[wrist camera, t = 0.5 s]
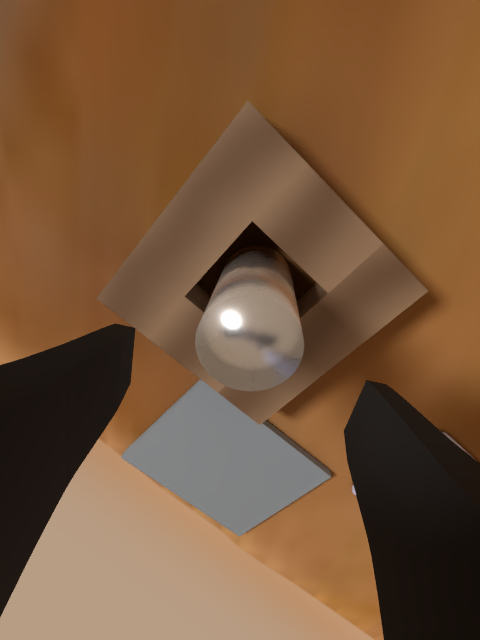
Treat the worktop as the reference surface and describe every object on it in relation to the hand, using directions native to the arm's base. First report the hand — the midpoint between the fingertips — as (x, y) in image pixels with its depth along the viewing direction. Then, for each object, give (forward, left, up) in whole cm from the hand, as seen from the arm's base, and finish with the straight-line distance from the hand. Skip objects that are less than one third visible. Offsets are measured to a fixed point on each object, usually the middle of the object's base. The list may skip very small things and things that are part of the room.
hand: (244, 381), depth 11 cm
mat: (-8, +12, -10) cm, 18 cm away
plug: (0, 0, -10) cm, 10 cm away
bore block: (0, 0, -10) cm, 10 cm away
